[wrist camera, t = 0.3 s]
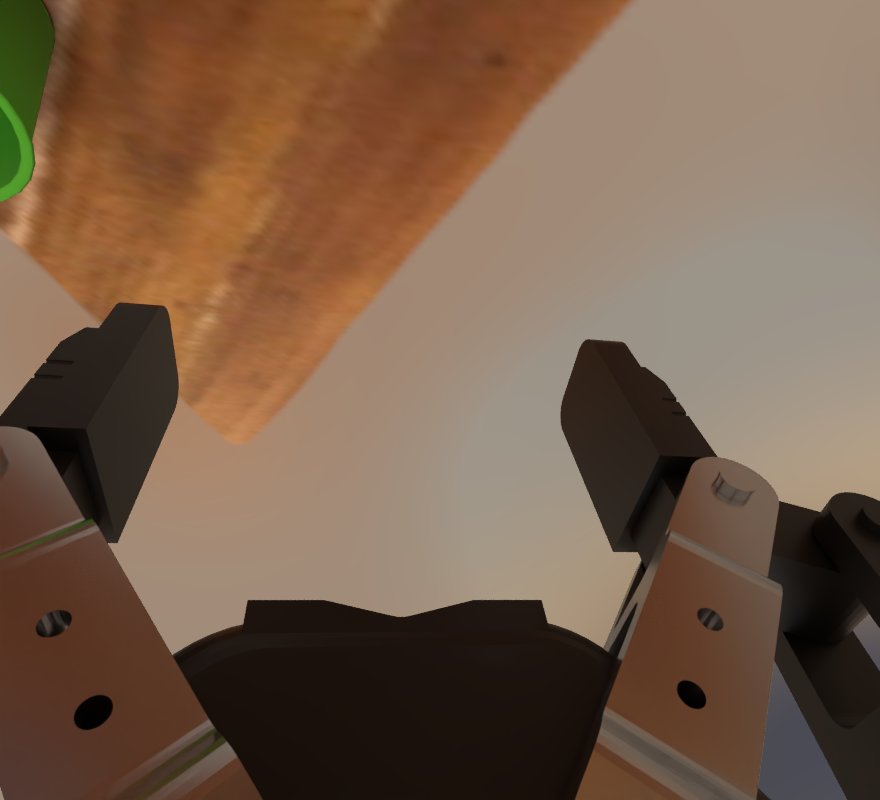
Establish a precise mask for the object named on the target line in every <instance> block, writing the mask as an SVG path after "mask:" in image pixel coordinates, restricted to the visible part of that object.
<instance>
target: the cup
mask: <svg viewBox="0 0 880 800" xmlns="http://www.w3.org/2000/svg"><path fill="white" fill-rule="evenodd" d="M54 42H55V39H54V29H53V26H52V23H51V20H50V17H49V14H48V12H47V10H46V8H45V6H44V5H43V3H42V1H41V0H0V202H1V201H4V200H7V199H9V198H11V197H12V196H14V195H16V194H18V193H20V192H21V191H22V190H23V189H24V188H25V186H26V185H27V184H28V183H29V181H30V180H31V178H32V174H33V170H34V167H35V156H34V147H33V143H32V138H33V134H34V130H35V125H36V121H37V116H38V112H39V108H40V103H41V99H42V95H43V90H44V86H45V81H46V77H47V73H48V68H49V64H50V59H51V55H52V51H53V46H54Z"/></svg>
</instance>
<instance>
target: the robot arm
mask: <svg viewBox="0 0 880 800" xmlns="http://www.w3.org/2000/svg"><path fill="white" fill-rule="evenodd" d="M46 361H47V362H46V363H43V364H42V365H41V367H40V368H39V369H38V370H37V372H36V373H35V374H34V375H35V377H34V378H31V379H30V380H29V382H28V383H27V384H26V385H25V386H24V388H23V389H22V390H21V391H20V393H19V394H18V395H17V396H16V397H15V399H14V400H13V401H12V402H11V404H10V405H9V406H8V407H7V409H6V410H5V411H4V412H3V414H2V415H1V416H0V787H1V791H2V794H3V797H4V800H771V799H769V798H768V797H767V796H766V795H765V794H764V793H763V792H762V791H761V790H760V789H759V788H758V782H759V774H760V766H761V759H762V751H763V743H764V736H765V728H766V719H767V712H768V704H769V697H770V689H771V681H772V673H773V666H774V665H773V664H774V661H775V662H776V664H777V666H778V668H779V670H780V672H781V674H782V675H783V677H784V680H785V682H786V683H787V685H788V687H789V689H790V691H791V693H792V695H793V697H794V698H795V701H796V702H797V704H798V706H799V708H800V710H801V712H802V714H803V716H804V718H805V720H806V721H807V723H808V725H809V727H810V729H811V731H812V733H813V735H814V736H815V739H816V740H817V742H818V744H819V746H820V748H821V750H822V752H823V754H824V756H825V758H826V760H827V761H828V764H829V765H830V767H831V769H832V771H833V773H834V775H835V777H836V779H837V780H838V783H839V784H840V786H841V788H842V790H843V792H844V794H845V796H846V798H847V800H880V671H879V669H878V668H877V666H876V665H875V663H874V662H873V661H872V659H871V658H870V656H869V654H868V653H867V651H866V650H865V648H864V647H863V645H862V644H861V642H860V641H859V639H858V638H857V636H856V635H855V633H854V632H853V629H854V628H855V627H856V626H857V625H858V624H859V623H860V622H861V621H862V620H863V619H864V618H865V617H866V616H867V615H868V614H870V615H871V617H872V618H873V620H874V621H875V622H876V624H877V625H878V627H879V628H880V501H878V500H876V499H874V498H871V497H868V496H865V495H861V494H856V493H848V492H844V493H839V494H836V495H834V496H833V497H832V498H831V499H830V500H829V502H828V503H827V504H826V506H825V507H824V509H823V510H822V511H821V512H818V511H814V510H811V509H807V508H803V507H799V506H796V505H792V504H788V503H784V502H781V501H779V500H778V496H777V494H776V492H775V491H774V489H773V488H772V487H771V485H770V484H769V483H768V482H767V481H766V480H765V479H764V478H763V477H762V476H760V475H759V474H757V473H756V472H755V471H753V470H751V469H750V468H748V467H746V466H744V465H742V464H739V463H737V462H735V461H732V460H728V459H725V458H719V457H717V455H716V454H715V453H714V451H713V450H712V449H711V447H710V446H709V444H708V443H707V441H706V440H705V439H704V437H703V436H702V434H701V433H700V432H699V430H698V429H697V427H696V426H695V424H694V423H693V422H692V420H691V419H690V417H689V416H686V412H685V410H684V409H683V407H682V406H681V405H680V403H679V402H676V397H675V396H674V395H673V394H672V392H671V391H670V389H669V388H668V386H667V385H666V383H665V382H664V381H662V380H661V379H660V378H659V377H657V376H656V375H654V374H653V373H652V372H651V371H649V370H648V369H647V368H646V367H641V366H640V365H639V363H638V362H637V360H636V359H635V357H634V356H633V354H632V353H631V352H630V350H629V349H628V347H627V346H626V344H625V343H623V342H616V341H603V340H590V339H589V340H585V341H584V342H583V343H582V345H581V347H580V349H579V352H578V355H577V358H576V361H575V364H574V367H573V370H572V373H571V376H570V379H569V382H568V385H567V388H566V391H565V394H564V397H563V401H562V406H561V426H562V430H563V432H564V435H565V437H566V440H567V442H568V444H569V447H570V449H571V452H572V454H573V456H574V459H575V461H576V464H577V466H578V468H579V471H580V473H581V476H582V478H583V480H584V483H585V485H586V488H587V490H588V492H589V495H590V497H591V499H592V502H593V504H594V507H595V509H596V512H597V514H598V516H599V519H600V521H601V523H602V526H603V529H604V531H605V533H606V535H607V538H608V541H609V543H610V545H611V548H612V550H613V552H638V553H639V555H640V557H641V562H640V564H639V566H638V567H637V569H636V571H635V573H634V576H633V578H632V581H631V583H630V585H629V588H628V590H627V593H626V595H625V598H624V600H623V602H622V605H621V607H620V610H619V612H618V614H617V617H616V619H615V621H614V624H613V627H612V629H611V631H610V633H609V636H608V638H607V641H606V643H605V645H604V648H602V647H600V646H599V645H597V644H595V643H594V642H592V641H590V640H589V639H587V638H585V637H583V636H581V635H579V634H577V633H574V632H572V631H570V630H567V629H565V628H562V627H559V626H556V625H553V624H549V623H547V619H546V615H545V611H544V608H543V604H542V601H541V600H472V601H468V602H465V603H460V604H456V605H452V606H448V607H444V608H440V609H436V610H432V611H428V612H424V613H420V614H416V615H412V616H408V617H395V616H390V615H385V614H382V613H377V612H373V611H368V610H364V609H360V608H356V607H352V606H347V605H343V604H338V603H334V602H330V601H325V600H248V602H247V607H246V613H245V618H244V624H243V625H239V626H235V627H231V628H227V629H225V630H222V631H219V632H216V633H213V634H211V635H209V636H207V637H204V638H202V639H200V640H198V641H196V642H194V643H192V644H190V645H188V646H187V647H185V648H183V649H182V650H180V651H178V652H177V653H175V654H173V655H172V654H171V652H170V651H169V649H168V647H167V646H166V644H165V642H164V641H163V639H162V637H161V635H160V633H159V632H158V630H157V628H156V626H155V625H154V623H153V621H152V620H151V618H150V616H149V614H148V613H147V611H146V609H145V607H144V606H143V604H142V602H141V601H140V599H139V597H138V596H137V594H136V592H135V590H134V588H133V587H132V585H131V583H130V582H129V580H128V578H127V576H126V575H125V573H124V571H123V569H122V568H121V566H120V564H119V562H118V561H117V559H116V557H115V556H114V554H113V552H112V550H111V549H110V547H109V545H108V543H118V540H119V538H120V536H121V533H122V531H123V529H124V527H125V524H126V522H127V519H128V517H129V515H130V513H131V510H132V508H133V506H134V503H135V501H136V499H137V496H138V494H139V492H140V489H141V487H142V485H143V482H144V480H145V478H146V476H147V473H148V471H149V468H150V466H151V464H152V461H153V459H154V457H155V454H156V452H157V450H158V448H159V445H160V443H161V441H162V438H163V436H164V434H165V431H166V429H167V427H168V424H169V422H170V420H171V418H172V415H173V413H174V410H175V408H176V404H177V399H178V389H179V382H178V372H177V365H176V359H175V352H174V345H173V338H172V331H171V324H170V318H169V314H168V311H167V309H166V308H165V306H159V305H146V304H133V303H118V304H117V305H116V306H115V307H114V308H113V310H112V311H111V312H110V314H109V315H108V317H107V318H106V319H105V321H104V322H103V323H102V325H101V326H100V327H99V328H88V327H87V328H84V329H82V330H80V331H79V332H77V333H75V334H73V335H72V336H70V337H68V338H66V339H65V340H63V341H61V342H60V343H59V344H58V346H57V347H56V348H55V349H54V351H53V352H52V353H51V354H50V356H49V357H48V358H47V359H46Z"/></svg>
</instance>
